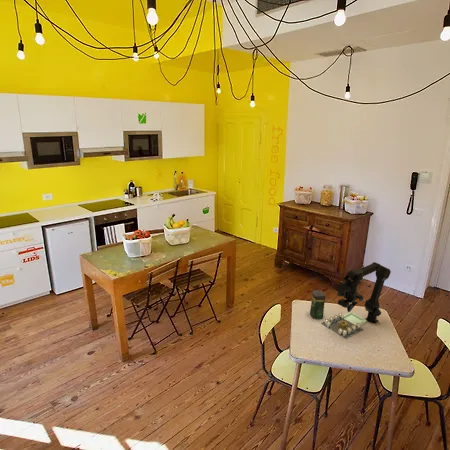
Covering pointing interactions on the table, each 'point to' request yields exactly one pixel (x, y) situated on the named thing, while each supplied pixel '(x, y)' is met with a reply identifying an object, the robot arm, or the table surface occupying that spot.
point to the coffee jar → (317, 304)
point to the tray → (354, 318)
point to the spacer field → (345, 332)
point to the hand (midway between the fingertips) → (348, 311)
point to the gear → (343, 324)
